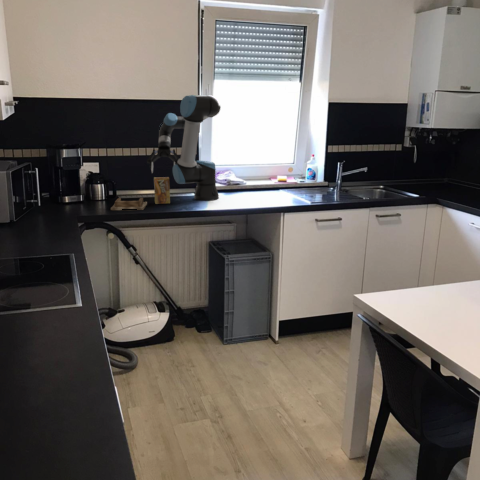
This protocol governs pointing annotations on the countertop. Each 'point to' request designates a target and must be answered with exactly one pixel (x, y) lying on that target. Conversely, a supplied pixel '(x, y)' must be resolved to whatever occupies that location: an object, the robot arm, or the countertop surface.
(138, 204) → the slot holder
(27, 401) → the countertop surface
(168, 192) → the candy box
